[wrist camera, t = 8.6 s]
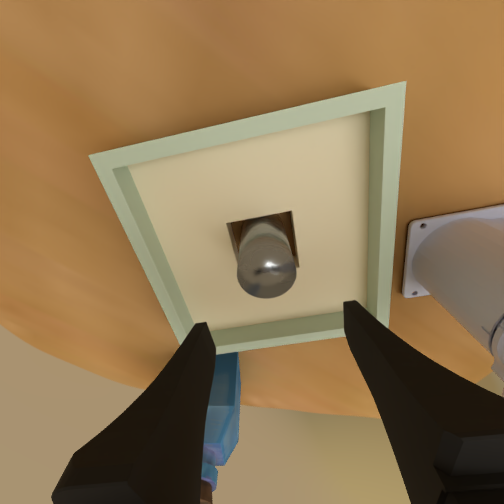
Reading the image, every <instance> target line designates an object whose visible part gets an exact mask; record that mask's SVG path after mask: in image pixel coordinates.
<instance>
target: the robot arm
mask: <svg viewBox="0 0 504 504" xmlns="http://www.w3.org/2000/svg"><path fill="white" fill-rule="evenodd" d="M423 223H424V225H423V226H422V227H420V226H421V224H423ZM414 291H415V292H414ZM413 292H414V293H413ZM402 295H403V296H404V297H405V298H412V297H419V296H425V295H432V296H433V297H434V298H435V299H436V300H437V301H438V302H439V303H440V304H441V305H442V306H443V307H444V308H445V309H446V310H447V311H448V312H449V313H450V314H451V315H452V316H453V317H454V318H455V319H456V320H457V321H458V322H459V323H460V324H461V325H462V326H463V327H464V328H465V329H466V330H467V331H468V332H469V333H470V334H471V335H472V336H473V337H474V338H475V339H476V340H477V341H478V342H479V343H480V344H481V345H482V346H483V347H484V348H485V349H486V350H487V351H488V352H489V353H491V354H492V355H493V356H494V358H495V360H494V364H493V365H492V367H491V369H492V370H493V371H494V372H495V373H496V374H497V375H498V376H499V377H500V378H501V380H502V381H503V382H504V204H502V205H496V206H491V207H485V208H480V209H474V210H469V211H463V212H458V213H452V214H446V215H441V216H435V217H430V218H424V219H419V220H414V221H412V222H411V223H410V224H409V227H408V236H407V246H406V257H405V267H404V277H403V287H402ZM343 314H344V332H345V335H346V338H347V341H348V344H349V347H350V350H351V352H352V354H353V356H354V358H355V360H356V362H357V364H358V367H359V369H360V371H361V373H362V375H363V377H364V379H365V381H366V383H367V385H368V387H369V389H370V391H371V394H372V396H373V398H374V400H375V403H376V405H377V408H378V411H379V413H380V416H381V419H382V421H383V424H384V426H385V429H386V432H387V435H388V438H389V440H390V443H391V446H392V449H393V452H394V455H395V457H396V460H397V463H398V466H399V469H400V471H401V475H402V478H403V481H404V484H405V486H406V490H407V493H408V496H409V499H410V502H411V504H504V388H503V392H502V397H501V396H499V395H497V394H495V393H492V392H490V391H488V390H486V389H484V388H482V387H480V386H478V385H476V384H474V383H472V382H470V381H468V380H466V379H464V378H462V377H461V376H459V375H457V374H455V373H453V372H452V371H450V370H448V369H446V368H445V367H443V366H441V365H439V364H438V363H436V362H434V361H433V360H431V359H429V358H428V357H426V356H425V355H423V354H422V353H420V352H419V351H417V350H416V349H414V348H413V347H412V346H410V345H409V344H407V343H406V342H405V341H403V340H402V339H401V338H399V337H398V336H397V335H395V334H394V333H393V332H392V331H390V330H389V329H388V328H387V327H386V326H384V325H383V324H382V323H381V322H380V321H378V320H377V319H376V318H375V317H374V316H373V315H372V314H370V313H369V312H368V311H367V310H366V309H365V308H364V307H363V306H362V305H361V304H360V303H359V302H358V301H356V300H352V301H345V302H343ZM215 362H216V346H215V344H214V341H213V338H212V336H211V333H210V330H209V328H208V325H207V322H201V323H195V325H194V326H193V328H192V329H191V330H190V332H189V333H188V335H187V336H186V338H185V339H184V341H183V342H182V344H181V345H180V347H179V348H178V350H177V351H176V352H175V354H174V355H173V357H172V358H171V359H170V361H169V362H168V363H167V365H166V366H165V367H164V369H163V370H162V371H161V372H160V374H159V375H158V376H157V377H156V379H155V380H154V381H153V382H152V383H151V384H150V385H149V387H148V388H147V389H146V390H145V391H144V392H143V393H142V394H141V395H140V396H139V397H138V398H137V399H136V400H135V401H134V402H133V403H132V404H131V405H130V406H129V407H128V408H127V409H126V410H125V411H124V412H123V413H122V414H121V415H120V416H119V417H118V418H116V419H115V420H114V421H113V422H112V423H111V424H110V425H108V426H107V427H106V428H105V429H104V430H103V431H101V432H100V433H99V434H98V435H97V436H95V437H94V438H93V439H92V440H90V441H89V442H88V443H87V444H85V445H84V446H83V447H81V448H80V449H79V450H77V451H76V452H75V453H74V454H73V456H72V458H71V460H70V461H69V463H68V465H67V467H66V469H65V471H64V472H63V474H62V476H61V478H60V480H59V482H58V484H57V486H56V487H55V489H54V491H53V493H52V496H51V498H52V501H53V504H200V494H201V475H202V459H203V446H204V434H205V423H206V416H207V409H208V404H209V398H210V393H211V388H212V382H213V377H214V371H215Z"/></svg>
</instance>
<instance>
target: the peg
mask: <svg viewBox="0 0 504 504" xmlns="http://www.w3.org/2000/svg"><path fill="white" fill-rule="evenodd" d="M296 275H297V271H296V266H295V263H294V259H293V256H292V252H291V249H290V245H289V242H288V238H287V235H286V231H285V228H284V224H283V222H282V220H281V218H280V217H279V216H278V215H277V214H271V215H266V216H261V217H256V218H251V219H245V220H244V222H243V225H242V232H241V240H240V249H239V258H238V267H237V279H238V282H239V284H240V286H241V287H242V289H243V290H244V291H245V292H247V293H248V294H250V295H252V296H254V297H257V298H263V299H270V298H275V297H278V296H281V295H283V294H284V293H286V292H287V291H288V290H289V289H290V288H291V287H292V286H293V284H294V282H295V280H296Z"/></svg>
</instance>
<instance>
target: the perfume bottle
mask: <svg viewBox="0 0 504 504" xmlns="http://www.w3.org/2000/svg"><path fill="white" fill-rule="evenodd" d="M240 391H241V381H240V369H239V357H238V352H232V353H224V354H217V355H216V362H215V371H214V377H213V382H212V388H211V393H210V398H209V404H208V409H207V416H206V423H205V434H204V446H203V459H202V475H201V494H200V504H212V492H213V491H214V490H215V489H216V486H217V476H218V475H217V474H218V471H217V469H216V468H215V466H224V465H225V464H226V462H227V460H228V458H229V457H230V455H231V453H232V451H233V449H234V448H235V446H236V444H237V443H238V437H239V434H238V433H239V414H240Z"/></svg>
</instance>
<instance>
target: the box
mask: <svg viewBox="0 0 504 504" xmlns="http://www.w3.org/2000/svg"><path fill="white" fill-rule="evenodd" d="M405 93H406V81H403V82H399V83H395V84H391V85H386V86H382V87H378V88H373V89H369V90H365V91H361V92H356V93H352V94H348V95H344V96H339V97H335V98H331V99H326V100H322V101H318V102H314V103H309V104H305V105H301V106H296V107H292V108H288V109H284V110H279V111H275V112H271V113H267V114H262V115H258V116H254V117H249V118H245V119H241V120H237V121H232V122H228V123H224V124H220V125H215V126H211V127H207V128H202V129H198V130H194V131H190V132H185V133H181V134H177V135H173V136H168V137H164V138H160V139H155V140H151V141H147V142H143V143H138V144H134V145H130V146H125V147H121V148H117V149H113V150H108V151H104V152H100V153H96V154H91V155H88V156H89V158H90V160H91V162H92V164H93V166H94V168H95V170H96V172H97V175H98V177H99V179H100V181H101V183H102V185H103V187H104V189H105V191H106V193H107V195H108V197H109V199H110V201H111V203H112V205H113V208H114V210H115V212H116V214H117V216H118V218H119V220H120V222H121V224H122V226H123V228H124V230H125V232H126V234H127V236H128V238H129V241H130V243H131V245H132V247H133V249H134V251H135V253H136V255H137V257H138V259H139V261H140V263H141V265H142V267H143V269H144V271H145V274H146V276H147V278H148V280H149V282H150V284H151V286H152V288H153V290H154V292H155V294H156V296H157V298H158V300H159V302H160V304H161V307H162V309H163V311H164V313H165V315H166V317H167V319H168V321H169V323H170V325H171V327H172V329H173V331H174V333H175V335H176V337H177V340H178V342H179V344H180V345H181V344H182V342H183V341H184V339H185V338H186V336H187V335H188V333H189V332H190V330H191V329H192V328H193V326H194V325H195V323H201V322H207V325H208V328H209V330H210V333H211V336H212V338H213V341H214V344H215V346H216V355H217V354H224V353H232V352H239V351H246V350H253V349H260V348H267V347H274V346H281V345H288V344H295V343H302V342H309V341H316V340H323V339H330V338H337V337H344V336H346V335H345V332H344V314H343V302H345V301H352V300H356V301H358V302H359V303H360V304H361V305H362V306H363V307H364V308H365V309H366V310H367V311H368V312H369V313H370V314H372V315H373V316H374V317H375V318H376V319H377V320H378V321H380V322H381V323H382V324H383V325H384V326H386V327H387V328H388V327H389V313H390V300H391V286H392V272H393V258H394V244H395V231H396V217H397V203H398V189H399V175H400V162H401V148H402V134H403V120H404V106H405ZM287 211H290V216H291V224H292V231H293V238H294V245H295V252H296V256H293V259H294V263H295V266H296V271H297V275H296V280H295V282H294V284H293V286H292V287H291V288H290V289H289V290H288V291H287V292H286V293H284V294H283V295H281V296H278V297H275V298H270V299H263V298H257V297H254V296H252V295H250V294H248V293H247V292H245V291H244V290H243V289H242V287H241V286H240V284H239V282H238V279H237V267H238V258H239V253H238V249H237V245H236V242H235V238H234V234H233V230H232V226H231V222H235V221H240V220H245V219H251V218H256V217H261V216H266V215H271V214H276V213H282V212H287Z"/></svg>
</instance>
